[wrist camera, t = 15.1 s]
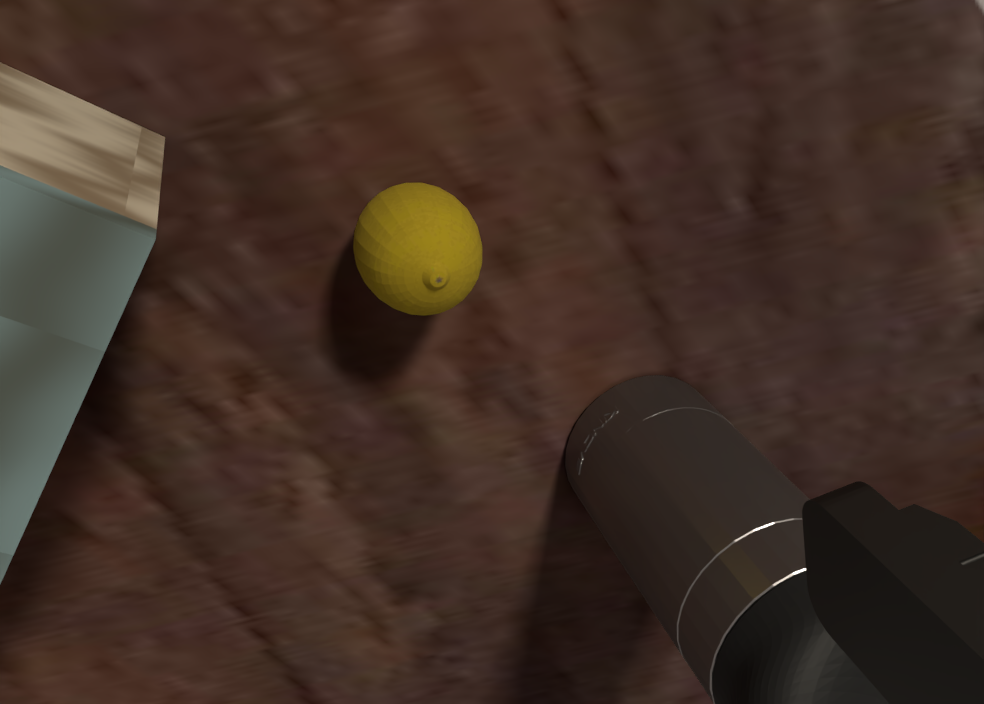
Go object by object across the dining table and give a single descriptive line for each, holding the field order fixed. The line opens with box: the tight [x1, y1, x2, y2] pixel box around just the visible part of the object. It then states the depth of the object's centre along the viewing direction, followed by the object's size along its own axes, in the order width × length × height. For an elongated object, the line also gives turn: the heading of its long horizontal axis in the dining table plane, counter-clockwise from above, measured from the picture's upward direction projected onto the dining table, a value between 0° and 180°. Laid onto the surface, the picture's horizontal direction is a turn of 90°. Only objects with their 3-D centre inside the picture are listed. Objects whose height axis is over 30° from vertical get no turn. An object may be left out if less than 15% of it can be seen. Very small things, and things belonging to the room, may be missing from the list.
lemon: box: [353, 183, 482, 316], centre depth 41 cm, size 6×6×8 cm
